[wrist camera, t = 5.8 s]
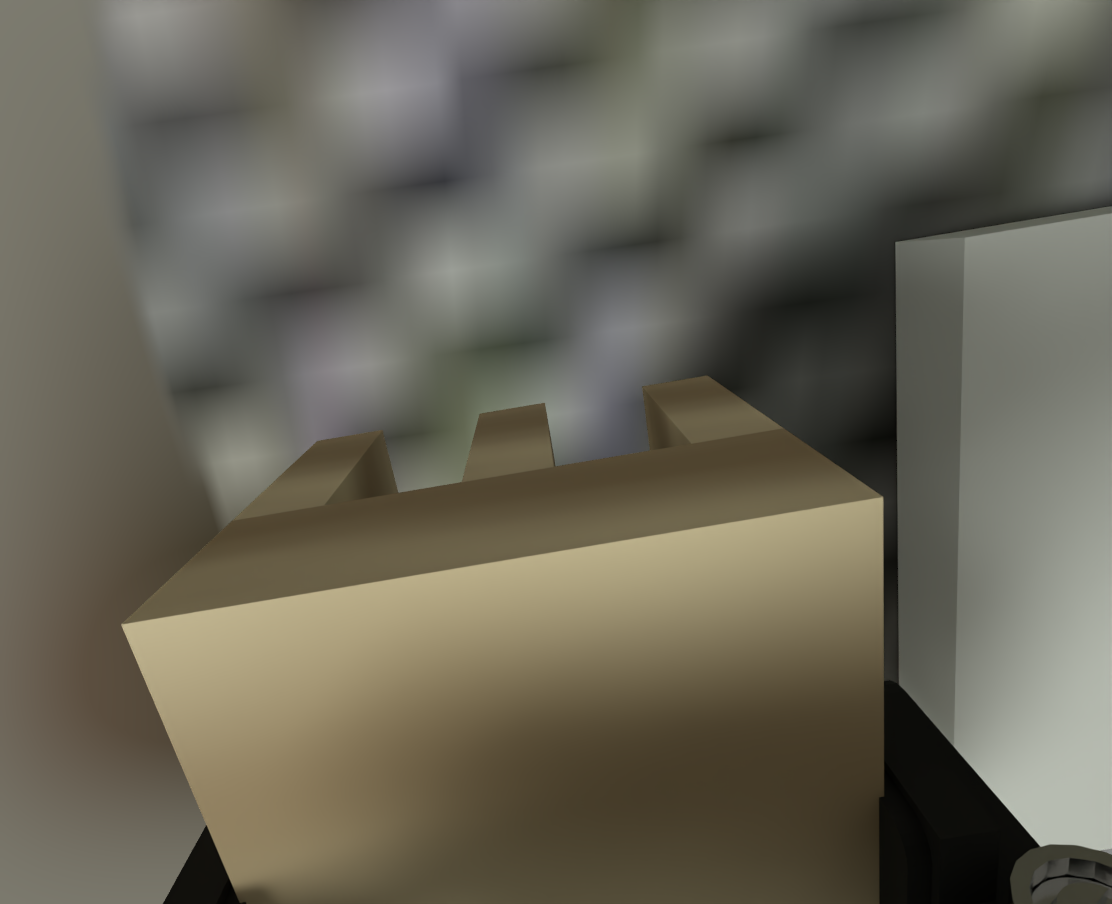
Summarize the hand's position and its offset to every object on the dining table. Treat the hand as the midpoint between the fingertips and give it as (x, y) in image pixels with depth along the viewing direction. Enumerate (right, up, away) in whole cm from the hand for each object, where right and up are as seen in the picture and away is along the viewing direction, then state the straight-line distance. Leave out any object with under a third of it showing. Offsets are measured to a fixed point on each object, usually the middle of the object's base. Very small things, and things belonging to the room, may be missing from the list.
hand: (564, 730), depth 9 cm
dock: (+16, +1, +12) cm, 20 cm away
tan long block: (+1, -3, +3) cm, 4 cm away
